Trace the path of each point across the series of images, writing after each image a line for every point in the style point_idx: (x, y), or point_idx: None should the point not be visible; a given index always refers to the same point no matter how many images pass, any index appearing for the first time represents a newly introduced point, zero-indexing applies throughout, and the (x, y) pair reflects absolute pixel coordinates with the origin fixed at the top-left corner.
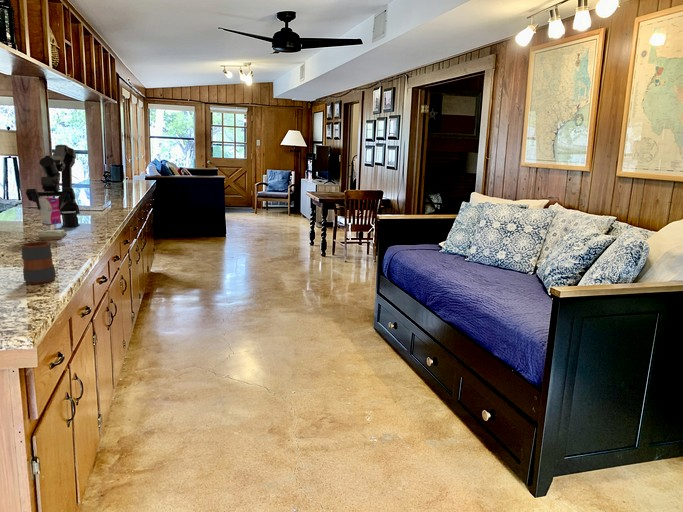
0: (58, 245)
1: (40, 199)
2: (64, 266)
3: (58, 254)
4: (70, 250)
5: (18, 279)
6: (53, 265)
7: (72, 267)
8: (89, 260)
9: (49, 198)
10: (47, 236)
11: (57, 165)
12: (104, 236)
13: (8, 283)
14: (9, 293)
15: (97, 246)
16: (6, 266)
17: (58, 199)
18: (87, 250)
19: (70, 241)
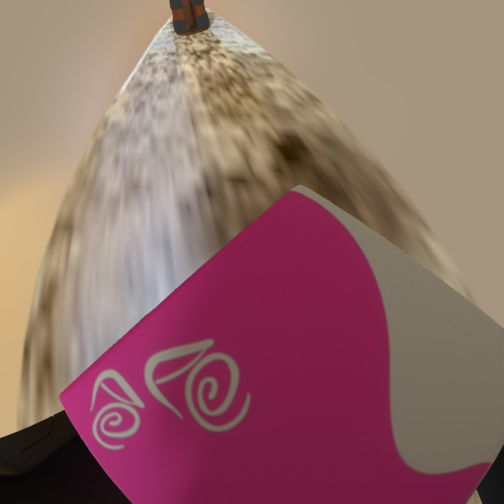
0: (206, 210)
1: (489, 323)
2: (167, 58)
3: (185, 107)
4: (157, 140)
5: (220, 29)
6: (173, 19)
7: (155, 57)
8: (126, 82)
9: (279, 365)
10: None
11: None
12: (38, 388)
13: (227, 24)
14: (215, 16)
15: (82, 183)
16: (268, 54)
17: (75, 398)
18: (115, 140)
19: (167, 294)
